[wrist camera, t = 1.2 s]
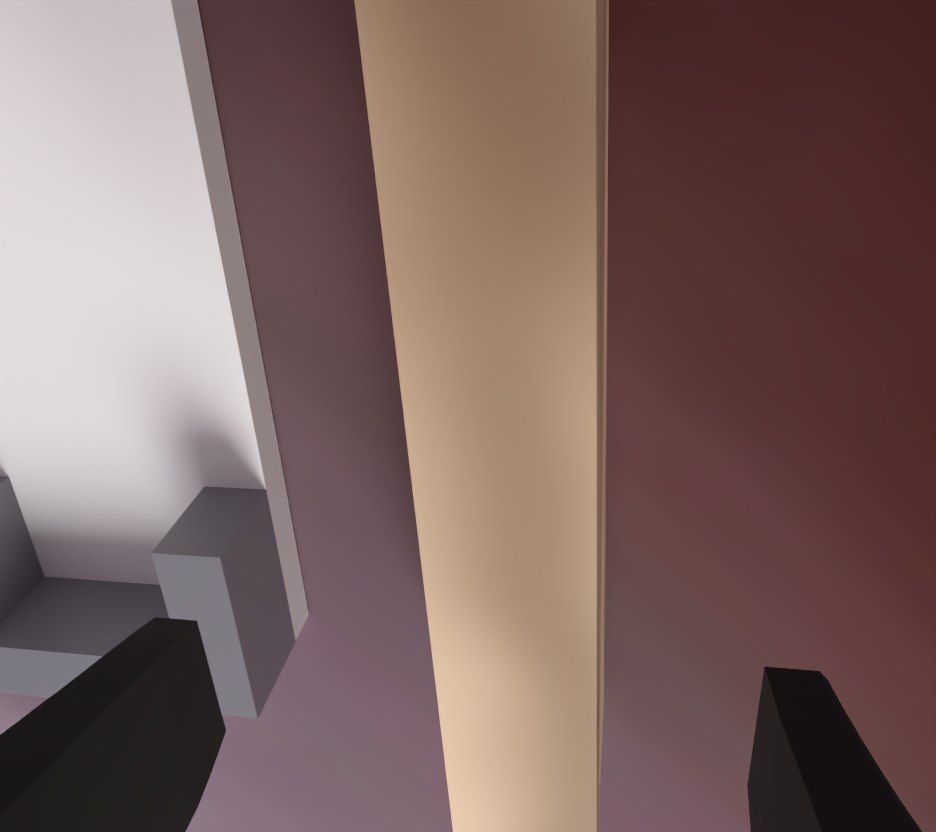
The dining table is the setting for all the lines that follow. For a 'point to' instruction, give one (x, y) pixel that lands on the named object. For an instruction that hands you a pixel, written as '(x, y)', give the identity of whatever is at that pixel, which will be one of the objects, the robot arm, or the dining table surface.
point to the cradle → (130, 360)
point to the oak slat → (502, 379)
